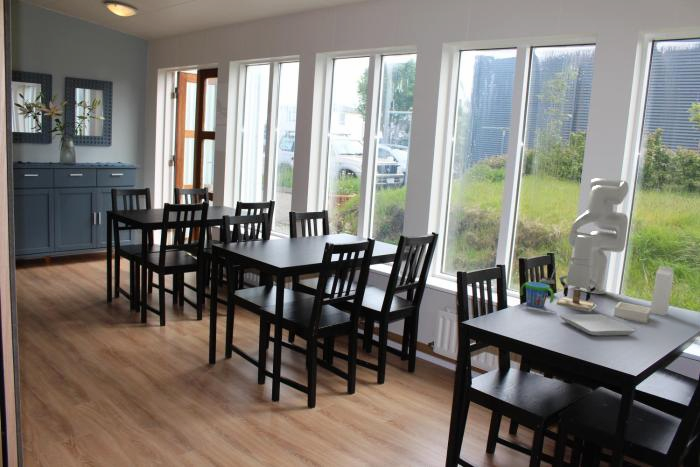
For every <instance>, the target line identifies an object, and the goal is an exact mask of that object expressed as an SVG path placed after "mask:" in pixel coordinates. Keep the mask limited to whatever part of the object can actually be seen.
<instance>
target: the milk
mask: <svg viewBox="0 0 700 467" xmlns="http://www.w3.org/2000/svg"><path fill="white" fill-rule="evenodd" d="M674 276H675V274H674V268H673V267H670V266H663V265H659V266H658V270H657V271H656V273H655V280H654V284H653V289H652V290H653V292H652V297H651V303H650V308H651V312H650V314H653V315H657V316H662V317H664V316H666V315H668V312H669V306H670V300H671V294H672V288H673V282H674Z"/></svg>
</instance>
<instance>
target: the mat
mask: <svg viewBox="0 0 700 467" xmlns="http://www.w3.org/2000/svg"><path fill="white" fill-rule="evenodd" d="M559 300H560V299H558V300H557V301H559ZM557 301H555V303H553V305H556V306H561V307H565V308H571V309H575V310H580V311H585V312H592V311H593V310H594V309H595V308H596V307H597V304H594V306H593V307H592V308H591V309H590V310H589V311H587V310H582V309H577V308H573V307H568V306H563V305H558V304H556V303H557Z"/></svg>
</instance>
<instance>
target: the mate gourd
mask: <svg viewBox="0 0 700 467" xmlns="http://www.w3.org/2000/svg"><path fill="white" fill-rule="evenodd" d="M559 266H560V265H559V264H558V265H557V266H555V268H554V269H553V270H552V271H553V272H552V274H551V277H550V278H549V277H548V278H547V277H542V278H541V280H540V282H539V283H544V284H547V285H549V286H550V288H551V289H552V291H553V293H554V291H555V289H556V288H555V286H556V282H555V279H553V277H554V274H555V272H556V271H557V268H559ZM547 295H550V296H551V292H550V291H549V290H548V294H547Z"/></svg>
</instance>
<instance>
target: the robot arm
mask: <svg viewBox="0 0 700 467" xmlns="http://www.w3.org/2000/svg"><path fill="white" fill-rule="evenodd" d="M589 185H590V193H589V197H588V201H587V204H586V208H585V212H584V213H583V214H581V215H579V216H578V217H577V218H576V219H575V220H574V221H573V223H572V224H571V226H570V230H569V233H568V234H569V235H568V239H567V242H568V245H569V246H568V247H571V248H574V252H573V256H572V257H570V258H569V261H570V262H571V263H570V265H569V267H568V271H567V274H566V275H563V276H560V277H559V278H558V279H559V282H560V284H561V286H563V293H562V294H563V297H568V293H569V286H571V287H576V288H579V290H581V292H582V291H583V292H586V296H585V301H588V302H589V301H590V299H591V295H592V294H594V295H595V294H596V295H603V294H606V293H607V292H606V289H604V283H605V278H606V270H607V263H608V258H607V255H606V254H605V252H612V253H622V252H623V251H624V250H625V248H626V247H625V246H626V241H627V233H628V223H629V222H628V221H629V220H628V216H627V214H625V213H623V212H617V211H614V205H617V206H618V205H621V204H622V203H623V201H624V200H625V198H626V197H627V195H628V192H629V183H628V181H626V180H622V179H621V180H619V179H610V178H601V177H598V178H593V179H591V181H590V184H589ZM590 223H593V226H594V228H596V229H599V230H595V231H591V232H590V233H587V232H579V229H580V228H581V227H583V226H584V225H587V224H590ZM600 230H601V231H600ZM602 230H604V231H602ZM609 231H612V232H609ZM614 232H615V233H614ZM565 279H566V282H565V281H564V280H565Z"/></svg>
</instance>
